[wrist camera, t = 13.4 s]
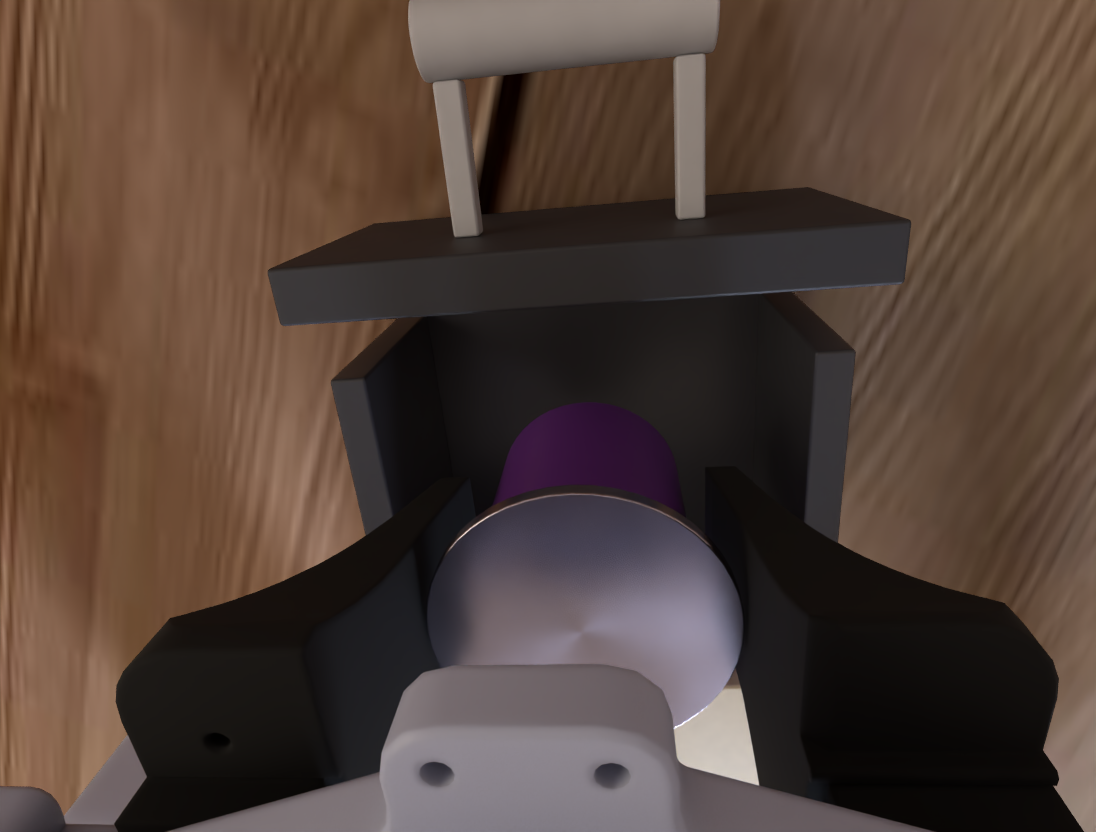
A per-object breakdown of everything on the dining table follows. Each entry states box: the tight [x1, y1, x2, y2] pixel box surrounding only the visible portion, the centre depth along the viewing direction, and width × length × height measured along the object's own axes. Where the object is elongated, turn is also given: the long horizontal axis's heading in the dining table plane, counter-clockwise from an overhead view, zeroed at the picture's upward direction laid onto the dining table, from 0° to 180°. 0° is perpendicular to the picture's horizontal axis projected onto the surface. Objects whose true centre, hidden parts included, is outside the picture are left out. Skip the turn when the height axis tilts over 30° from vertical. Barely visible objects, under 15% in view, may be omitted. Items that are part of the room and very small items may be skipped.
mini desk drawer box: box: [674, 669, 759, 785], centre depth 23 cm, size 14×14×9 cm
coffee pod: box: [426, 402, 745, 728], centre depth 13 cm, size 5×5×5 cm
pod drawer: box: [268, 0, 911, 543], centre depth 18 cm, size 17×12×7 cm
